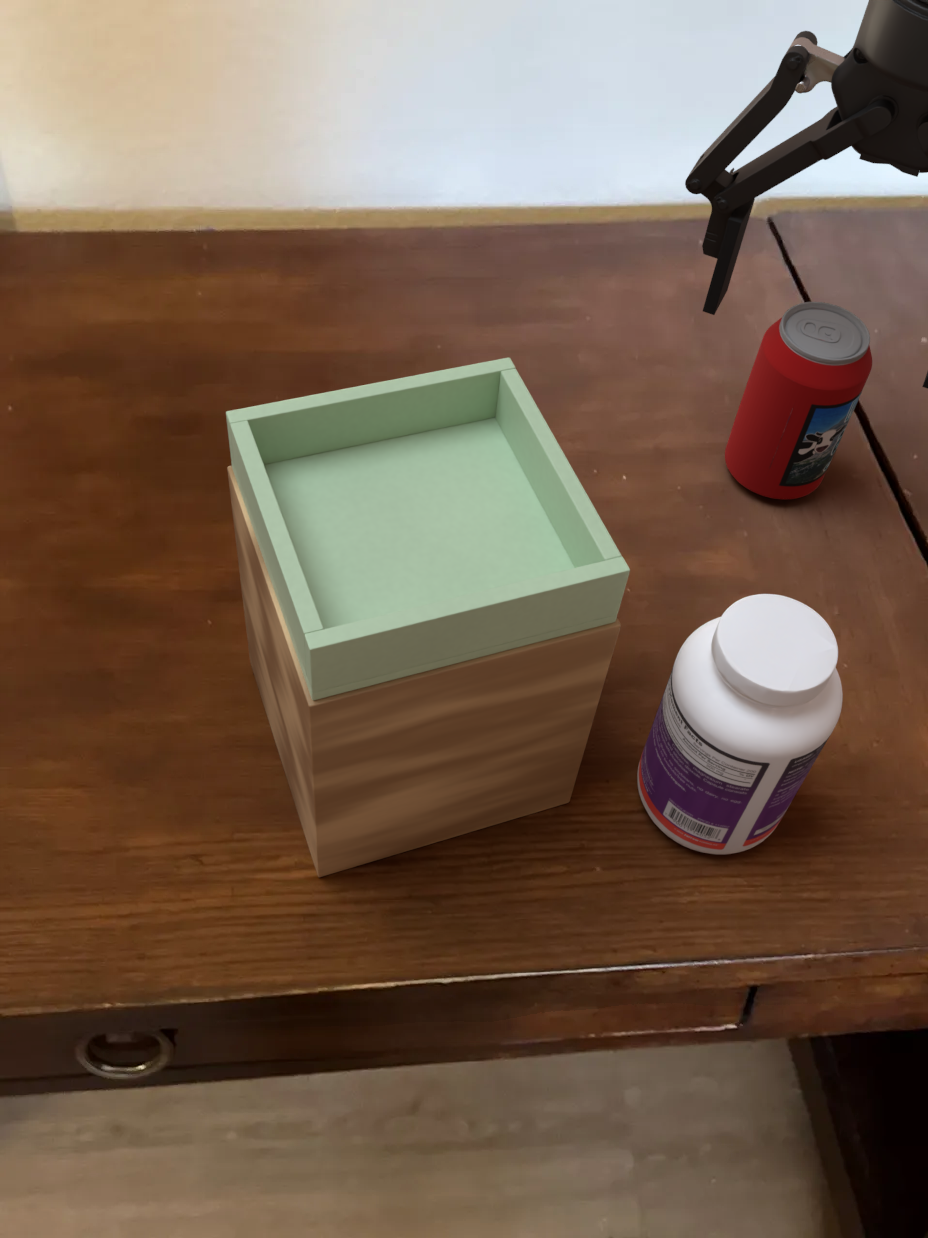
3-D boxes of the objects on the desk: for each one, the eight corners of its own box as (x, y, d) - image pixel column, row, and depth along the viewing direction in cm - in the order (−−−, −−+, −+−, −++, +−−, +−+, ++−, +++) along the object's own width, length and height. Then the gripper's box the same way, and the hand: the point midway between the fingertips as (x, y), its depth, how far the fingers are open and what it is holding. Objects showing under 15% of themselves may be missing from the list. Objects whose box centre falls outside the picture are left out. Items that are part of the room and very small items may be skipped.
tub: (615, 622, 53) (630, 570, 50) (312, 701, 49) (309, 649, 46) (502, 412, 60) (509, 356, 57) (231, 468, 56) (225, 411, 54)
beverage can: (810, 520, 79) (872, 381, 70) (710, 488, 80) (758, 347, 71) (829, 453, 83) (890, 313, 74) (733, 424, 84) (782, 281, 75)
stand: (569, 803, 65) (621, 624, 53) (318, 878, 62) (308, 706, 49) (478, 606, 73) (504, 409, 60) (250, 662, 69) (226, 465, 57)
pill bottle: (753, 725, 69) (832, 563, 58) (799, 852, 64) (896, 704, 53) (616, 740, 68) (669, 578, 56) (654, 871, 63) (720, 724, 52)
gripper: (1247, 16, 56) (1039, 369, 72) (730, -122, 60) (648, 238, 77) (1238, 92, 51) (1018, 448, 68) (682, -63, 56) (607, 305, 73)
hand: (821, 337), depth 73 cm, fingers open, 13 cm apart
